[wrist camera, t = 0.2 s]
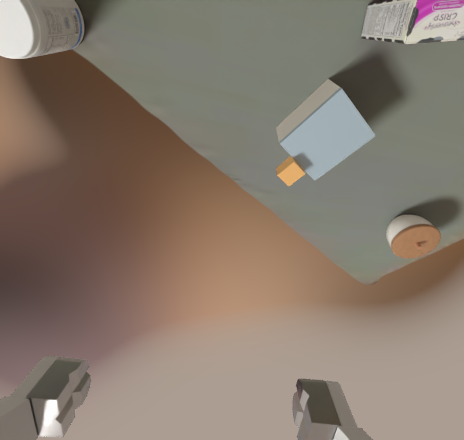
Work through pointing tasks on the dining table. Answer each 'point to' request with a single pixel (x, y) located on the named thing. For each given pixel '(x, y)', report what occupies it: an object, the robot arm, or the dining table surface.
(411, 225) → the lidded jar
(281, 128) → the tub
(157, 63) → the dining table surface
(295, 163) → the lid
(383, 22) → the candy bar box
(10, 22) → the supplement tub
